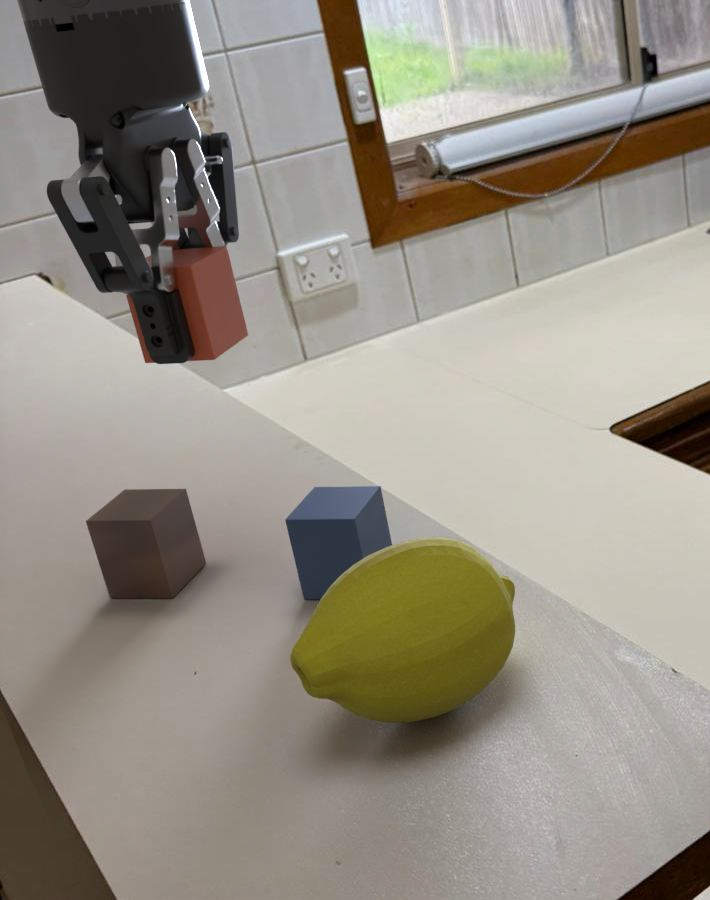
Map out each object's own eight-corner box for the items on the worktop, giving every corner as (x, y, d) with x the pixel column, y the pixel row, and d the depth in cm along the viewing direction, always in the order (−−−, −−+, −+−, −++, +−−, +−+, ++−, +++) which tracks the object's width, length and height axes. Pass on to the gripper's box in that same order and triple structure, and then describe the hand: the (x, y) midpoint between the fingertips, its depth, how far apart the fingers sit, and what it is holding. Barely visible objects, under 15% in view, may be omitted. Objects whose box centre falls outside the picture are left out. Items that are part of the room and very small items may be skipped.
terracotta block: (144, 363, 60) (118, 270, 58) (182, 338, 63) (159, 250, 61) (214, 360, 59) (190, 265, 57) (249, 335, 62) (227, 245, 60)
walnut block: (109, 598, 65) (85, 521, 63) (146, 563, 69) (124, 489, 67) (172, 598, 65) (150, 520, 63) (206, 563, 68) (186, 488, 66)
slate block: (303, 599, 63) (284, 519, 61) (331, 563, 67) (314, 486, 65) (371, 600, 62) (354, 519, 60) (396, 563, 66) (380, 485, 64)
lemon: (496, 627, 58) (474, 487, 55) (565, 703, 52) (545, 549, 49) (288, 704, 54) (251, 557, 51) (336, 797, 47) (296, 635, 44)
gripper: (117, 3, 61) (196, 310, 68) (-66, 23, 48) (54, 398, 55) (245, -12, 60) (313, 303, 67) (91, 5, 47) (195, 392, 54)
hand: (195, 345), depth 61 cm, fingers closed on terracotta block, 4 cm apart
